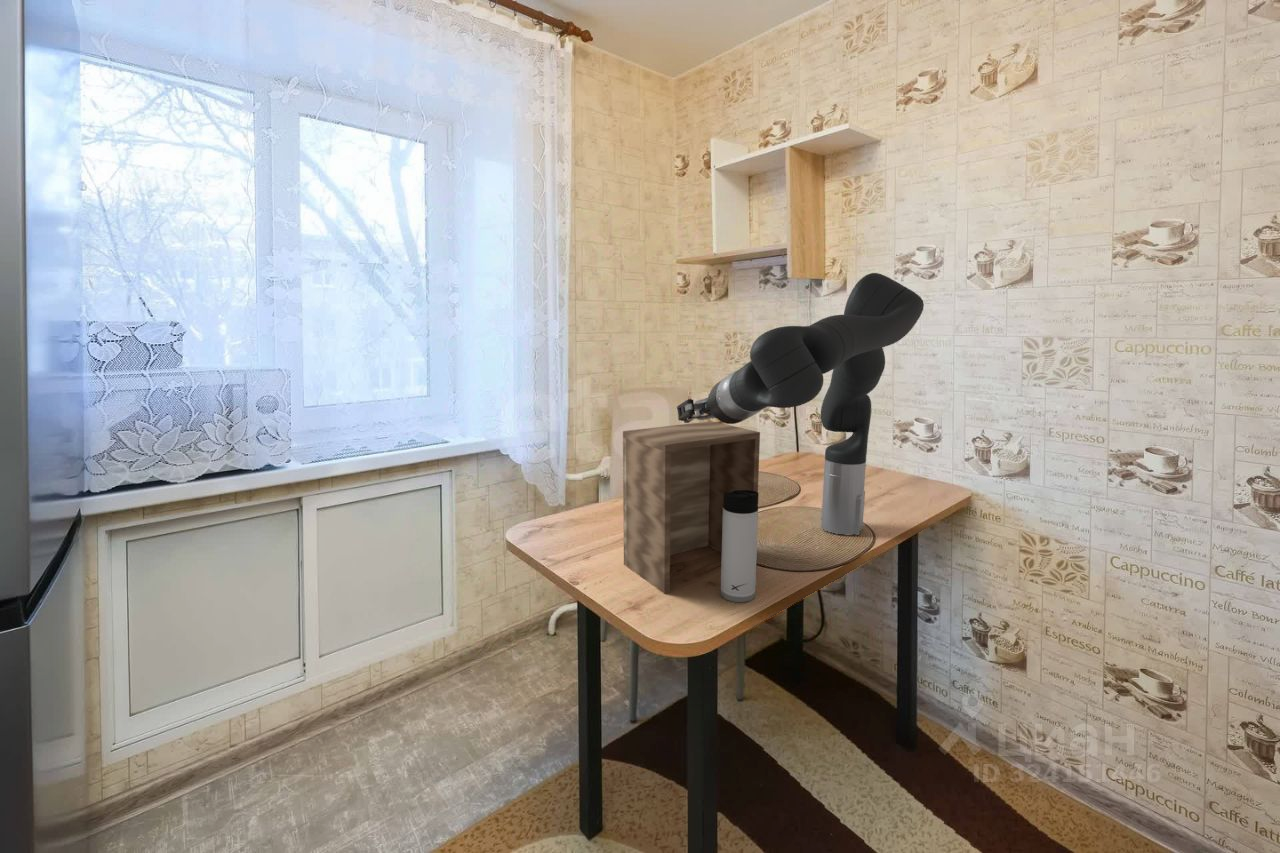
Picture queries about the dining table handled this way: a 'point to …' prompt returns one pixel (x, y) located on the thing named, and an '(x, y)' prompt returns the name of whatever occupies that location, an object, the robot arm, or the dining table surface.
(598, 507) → the dining table surface
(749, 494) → the travel mug
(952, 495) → the dining table surface
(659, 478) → the cubby
